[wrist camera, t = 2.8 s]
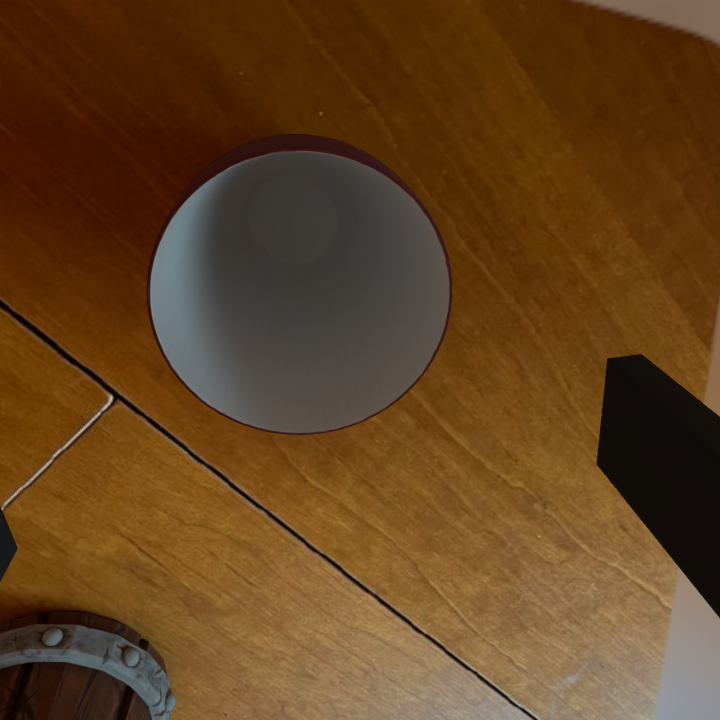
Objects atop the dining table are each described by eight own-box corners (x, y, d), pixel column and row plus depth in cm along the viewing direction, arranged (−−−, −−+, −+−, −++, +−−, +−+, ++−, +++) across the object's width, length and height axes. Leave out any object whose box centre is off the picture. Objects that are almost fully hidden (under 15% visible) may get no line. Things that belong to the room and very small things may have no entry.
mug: (432, 322, 28) (505, 445, 19) (264, 385, 29) (259, 534, 20) (354, 79, 24) (402, 93, 15) (154, 157, 24) (82, 217, 15)
